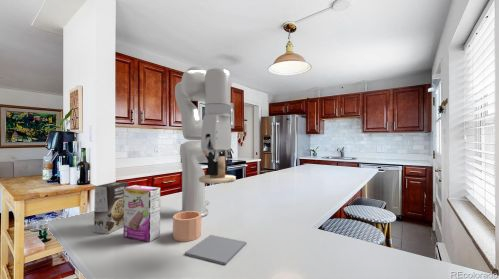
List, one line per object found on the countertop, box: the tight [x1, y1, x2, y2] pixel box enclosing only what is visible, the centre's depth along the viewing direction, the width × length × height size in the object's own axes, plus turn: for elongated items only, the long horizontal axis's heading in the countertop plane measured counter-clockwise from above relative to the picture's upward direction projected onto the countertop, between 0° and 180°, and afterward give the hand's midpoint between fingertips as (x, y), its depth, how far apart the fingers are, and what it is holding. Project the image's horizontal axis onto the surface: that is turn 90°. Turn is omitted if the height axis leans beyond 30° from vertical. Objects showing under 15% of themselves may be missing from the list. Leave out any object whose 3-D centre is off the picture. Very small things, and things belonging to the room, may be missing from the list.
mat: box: [184, 234, 247, 266], centre depth 66 cm, size 13×13×1 cm
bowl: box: [172, 211, 203, 243], centre depth 76 cm, size 9×9×7 cm
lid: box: [199, 156, 237, 185], centre depth 66 cm, size 11×11×7 cm
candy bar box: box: [123, 184, 161, 243], centre depth 74 cm, size 11×5×16 cm, turn 71°
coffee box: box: [93, 181, 129, 235], centre depth 82 cm, size 9×6×16 cm
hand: (217, 173), depth 66 cm, fingers closed on lid, 4 cm apart
